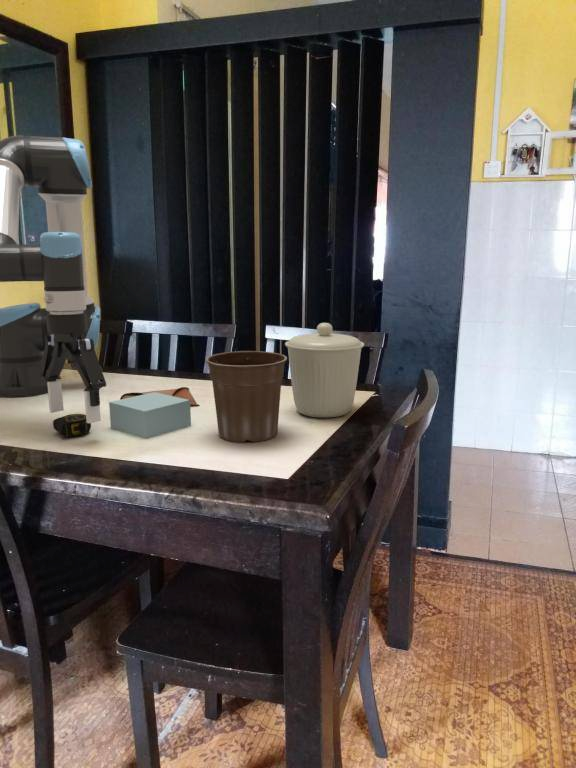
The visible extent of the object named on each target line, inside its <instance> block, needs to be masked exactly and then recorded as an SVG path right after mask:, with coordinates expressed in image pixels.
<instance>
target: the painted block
mask: <svg viewBox="0 0 576 768" xmlns="http://www.w3.org/2000/svg"><path fill="white" fill-rule="evenodd" d="M108 404H109V405H108V406H109V420H110V429H113V430H116V431H120V432H123V433H126V434H130V435H132V436H135V437H139V438H143V439H146V440H147V439H150V438H154V437H157V436H160V435H163V434H166V433H170V432H174V431H177V430H180V429H185V428H188V427H190V426H192V418H191V417H192V416H191V415H192V414H191V407H190V400H188V399H183V398H179V397H174V396H170V395H165V394H161V393H156V392H153V393H148V394H144V395H139V396H135V397H130V398H126V399H121V400H120V399H117V400H112V401H108Z"/></svg>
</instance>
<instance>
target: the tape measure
mask: <svg viewBox="0 0 576 768" xmlns="http://www.w3.org/2000/svg"><path fill="white" fill-rule="evenodd" d="M52 426H53V429H54V430H55V432H57V433H59V434H60V435H61V436H62V438H63V437H64V438H68V437H74V436H81V435H85V434H87V433H88V432H90V430H91V427H92V423H87V422H86V413H85V414H84V413H73V414H71V413H70V414H67V415H64V416H61V417H57V418H55V419H53V421H52Z"/></svg>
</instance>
